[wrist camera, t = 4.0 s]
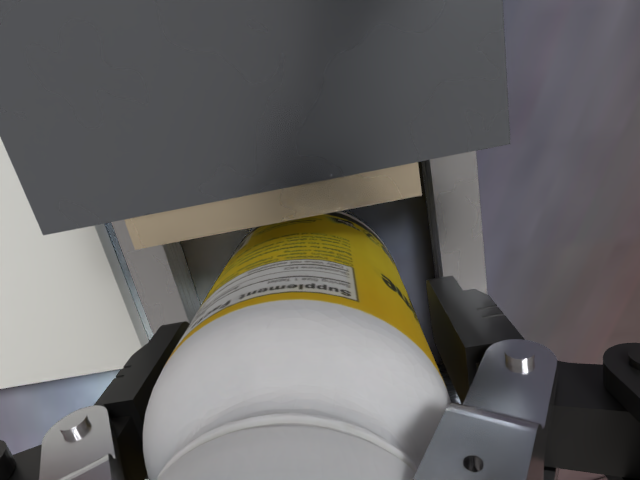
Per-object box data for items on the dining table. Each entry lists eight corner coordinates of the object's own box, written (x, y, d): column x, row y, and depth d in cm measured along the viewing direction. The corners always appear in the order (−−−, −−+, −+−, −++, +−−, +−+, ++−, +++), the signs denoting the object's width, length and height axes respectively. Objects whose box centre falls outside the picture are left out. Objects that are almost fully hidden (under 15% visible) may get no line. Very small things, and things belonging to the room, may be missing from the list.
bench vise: (69, 40, 13) (-76, 9, 8) (444, -48, 12) (517, -139, 8) (230, 490, 19) (198, 619, 14) (489, 454, 18) (546, 579, 14)
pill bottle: (398, 346, 17) (517, 769, 6) (244, 356, 17) (109, 776, 6) (393, 193, 15) (558, 435, 4) (219, 207, 15) (-35, 467, 4)
